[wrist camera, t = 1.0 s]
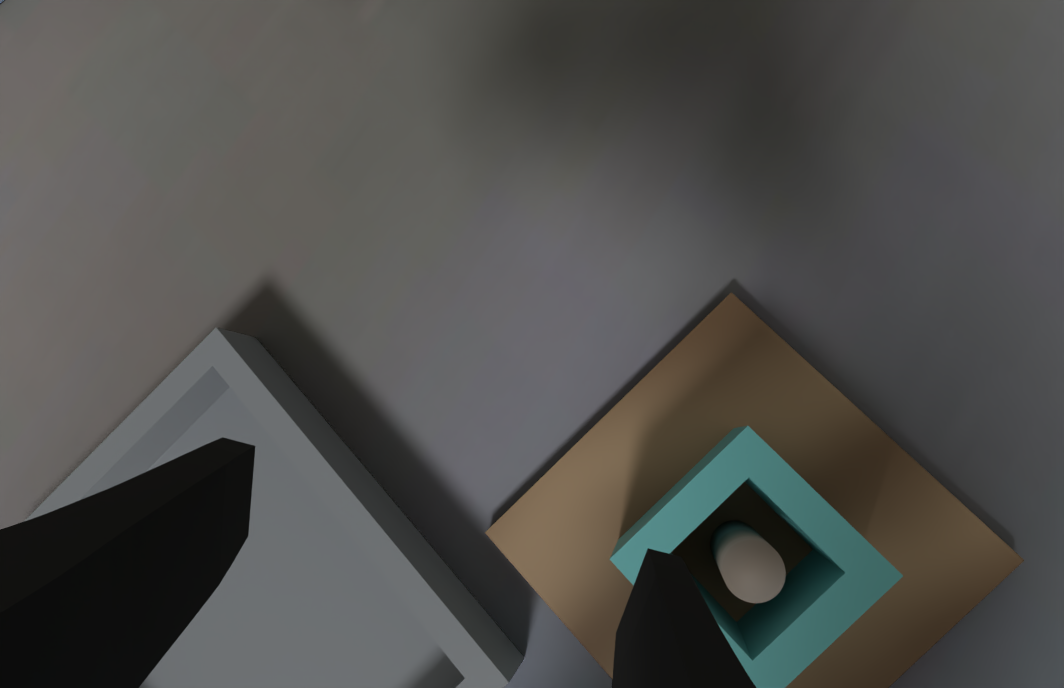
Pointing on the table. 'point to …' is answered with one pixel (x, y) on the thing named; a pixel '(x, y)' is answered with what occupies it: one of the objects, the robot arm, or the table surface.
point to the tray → (298, 546)
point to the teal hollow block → (810, 587)
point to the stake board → (752, 504)
